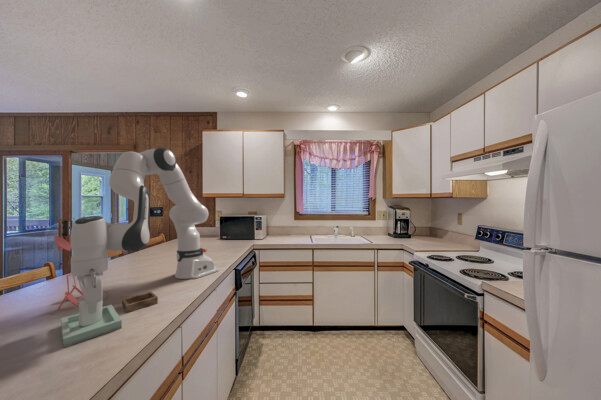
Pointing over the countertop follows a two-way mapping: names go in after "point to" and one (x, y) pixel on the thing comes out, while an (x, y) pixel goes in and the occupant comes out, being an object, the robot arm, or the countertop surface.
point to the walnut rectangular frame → (139, 301)
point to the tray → (89, 326)
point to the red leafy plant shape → (68, 295)
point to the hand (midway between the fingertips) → (90, 308)
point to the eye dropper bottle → (89, 318)
